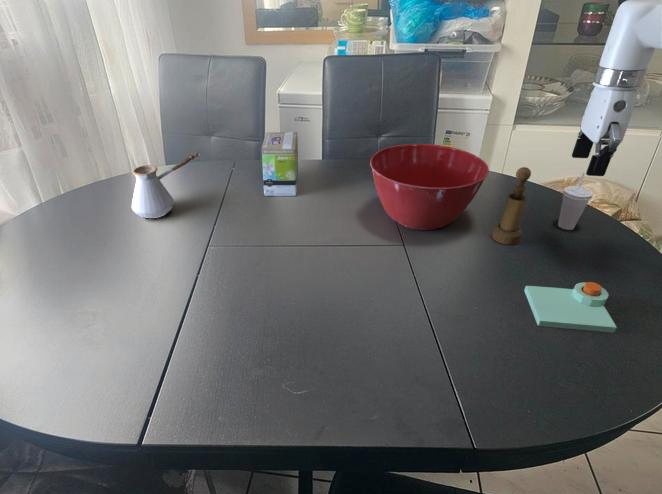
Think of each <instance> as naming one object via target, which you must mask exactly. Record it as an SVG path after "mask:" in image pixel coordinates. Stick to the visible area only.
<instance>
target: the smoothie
mask: <svg viewBox="0 0 662 494" xmlns="http://www.w3.org/2000/svg"><path fill="white" fill-rule="evenodd" d="M585 175H586V172H581V174H580V177H579V180H578V183H577V185H568V186H565V187H564V188H563V191H562V194H563V196H562V202H561V206H560V212H559V216H558V217H559V218H558V222H557V226H558V227H559V228H560V229H562V230H567V231H572V230H574V229H575V227H576V225H577V223H578V222H579V220H580V218H581V216H582V214H583V213H584V211H585V209H586V207H587V206H588V204H589V202H590V200H592V199H593V197H594V192H593V191H592V190H591V189H589V188H587V187H584V186H581V184H582V181H583V179H584V176H585Z"/></svg>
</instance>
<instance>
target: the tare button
mask: <svg viewBox="0 0 662 494" xmlns="http://www.w3.org/2000/svg"><path fill="white" fill-rule="evenodd" d="M585 283H586V284H585V286H584V288H583V292H584V293H585V294H587V295H590V296H599V294H600V292H601V289H602V288H603V287H602V285H600V284H598V283H597V282H593V281H587V282H585Z"/></svg>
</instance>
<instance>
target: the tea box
mask: <svg viewBox="0 0 662 494" xmlns="http://www.w3.org/2000/svg"><path fill="white" fill-rule="evenodd" d="M298 139H299V138H298V132H297V131H284V132H283V131H280V132H274V131H271V132H268V131H267V132H265V135H264V139H263V143H262V146H261V162H262V182H263V196H264V197H296V196H297V192H298V181H299V150H298V149H299V148H298V147H299V145H298V141H299V140H298Z"/></svg>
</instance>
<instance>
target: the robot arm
mask: <svg viewBox="0 0 662 494" xmlns="http://www.w3.org/2000/svg"><path fill="white" fill-rule="evenodd" d="M655 49H660V50H662V0H625V1H623V2H622V3H621V4H620V5H619V6H618V8H617V10H616V12H615V14H614V19H613V21H612V24H611V27H610V30H609V34H608V36H607V39H606V42H605V45H604V48H603V52H602V55H601V57H600V60H599V64H598V67H597V70H596V73H595V76H594V78H593V82H592V85H593V86H594V88H593V90H592V92H591V95H590V98H589V99H588V102H587V105H586V107H585V110H584V113H583V116H582V120H581V123H580V125H579V127H580V131H579V132H578V133H577V138H576V141H575V144H574V146H573V149H572V153H571V157H572V158H573V159H588V158H589V157H590V154H591V151H592V149H593V145H594V144H595V148H594V154H592V156H591V158H590V161H589V164H588V167H587V169H586V172H585V175H587V176H588V177H604V176H605V175H606V172H607V170H608V167H609V165H610V162H611V160H612V158H613V157H614V154H615V153H616V152H617V150H618V147H619V146H620V145H621V143H622V142H623V141H624V138H625V136H626V133H627V130H628V127H629V123H630V121H631V117H632V115H633V111H634V107H635V105H636V100H637V95H638V90H639V89H641V85H642V83H643V80H644V77H645V75H646V72H647V71H648V67H649V64H650V62H651V59H652V57H653V54H654V52H655ZM602 146H604V147H602Z"/></svg>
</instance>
